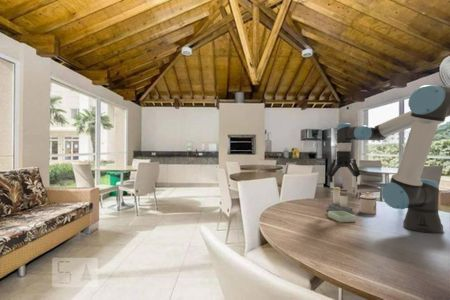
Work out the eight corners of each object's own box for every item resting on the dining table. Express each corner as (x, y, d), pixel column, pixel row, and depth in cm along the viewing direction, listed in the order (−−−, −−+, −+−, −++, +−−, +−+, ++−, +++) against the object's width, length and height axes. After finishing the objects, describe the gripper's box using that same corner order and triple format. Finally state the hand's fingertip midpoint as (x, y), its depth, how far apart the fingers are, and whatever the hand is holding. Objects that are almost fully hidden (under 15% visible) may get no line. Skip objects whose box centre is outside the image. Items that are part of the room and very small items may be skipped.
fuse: (341, 208, 160) (341, 188, 160) (335, 208, 159) (335, 188, 159) (337, 206, 164) (337, 187, 164) (331, 207, 163) (331, 187, 163)
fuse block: (353, 215, 152) (353, 207, 152) (340, 215, 151) (340, 208, 151) (339, 209, 166) (339, 202, 166) (327, 209, 165) (327, 203, 165)
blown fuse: (349, 211, 153) (349, 189, 153) (342, 211, 153) (342, 190, 152) (344, 209, 157) (344, 188, 157) (338, 209, 157) (338, 188, 156)
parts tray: (355, 221, 139) (355, 215, 139) (339, 222, 137) (339, 216, 137) (343, 216, 149) (343, 210, 149) (327, 216, 148) (327, 211, 148)
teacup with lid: (378, 214, 153) (378, 194, 153) (360, 213, 156) (360, 193, 156) (374, 210, 164) (374, 190, 164) (357, 209, 167) (357, 190, 167)
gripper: (359, 150, 160) (358, 186, 161) (320, 150, 156) (319, 187, 157) (367, 150, 153) (367, 188, 153) (326, 150, 149) (326, 189, 149)
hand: (343, 187), depth 155 cm, fingers open, 13 cm apart
